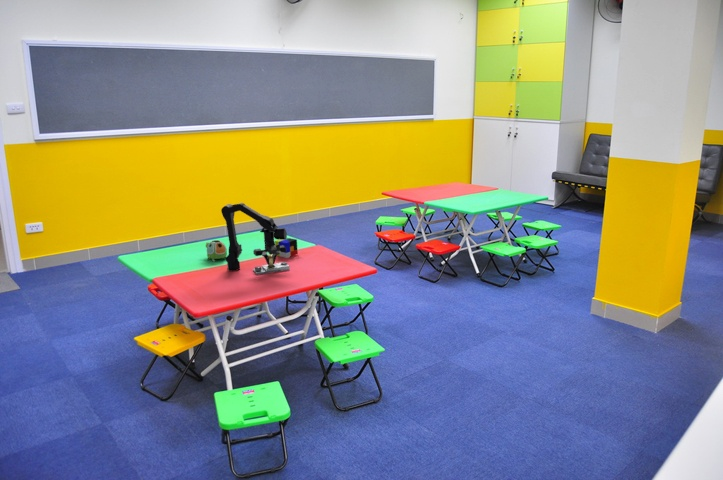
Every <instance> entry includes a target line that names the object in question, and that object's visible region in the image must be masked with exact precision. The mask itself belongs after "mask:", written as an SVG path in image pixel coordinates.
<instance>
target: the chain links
mask: <svg viewBox="0 0 723 480" xmlns="http://www.w3.org/2000/svg"><path fill="white" fill-rule="evenodd" d="M252 271H253V272H254V274H255V275H257V276H259V275H265V274H271V273H276V272H277V273H278V272H283V271H290V265H289V264H288V262H286V261H284V262H283V261H282V262H277V263H274V267H271V268H269V266H268V264H262V265H261V266H255V267H254V268H253V269H252Z"/></svg>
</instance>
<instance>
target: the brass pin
mask: <svg viewBox="0 0 723 480" xmlns="http://www.w3.org/2000/svg"><path fill="white" fill-rule="evenodd" d="M267 255H268V261H269V265H268V264H267V265H268V266H269V268H271V267H274V264H275V263H274V264H273V254H272V255H270V254H267Z"/></svg>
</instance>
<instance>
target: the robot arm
mask: <svg viewBox="0 0 723 480" xmlns="http://www.w3.org/2000/svg"><path fill="white" fill-rule="evenodd" d="M220 210H221V211H220V212H221V214H222V218H223V219H224V221H225V224H226V231H227V237H228V242H229V245H228V254H227V256H226V258H224V260H225V262H226V263H227V264H226V265H227V268H226V269H227V271H228V272H233V271H239V270H241V265H240V260H239V259H238V258H239V257H240V256H241V255H242V251H243V247H242V243H241V244H239V242H238V239H237V231H236V227H235V220H234V219H235V213H236V212H241V213H243V214H245V215H247V216H248V217H250V218H252V219H253V220H255V221H256V222H257V223H258V225H260V226H261V227H262V228H261V230H260V231H259V232H260V233H263V242H264V249H261V248H255V249H253V251H252V252H253V255H254V256H255V257H260V256H262V257H263V258H264V259H265V262H266V265H269V261H268V255H273V264H275V262H276V259H277V257H278V256H277V255H278V254H280V253H279V251H281V252H286V247H284V246H283V245H282V246H280V245H275V241H276V240H279V239H281V240H286V238H288V233H287V230H286V228H285V227H281V228H279V227H278V225H277V224H276V223H275V222H274V221H275V220H274V219H273V218H272V217H269V216H267V215H264V214H261V213H259V212H258V211H256V210H254V209H253V208H251V207H249V206H248V205H246V204H245V203H243V202H240V203H235V204H231V203H230V204H229V203H228V204H226V205H224V206H223V207H222V208H221V209H220Z"/></svg>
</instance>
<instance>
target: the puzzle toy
mask: <svg viewBox="0 0 723 480" xmlns="http://www.w3.org/2000/svg"><path fill="white" fill-rule="evenodd" d="M274 241H275V245H280V246H282V245H283V246H284V247H286V252H281V251H279V253H280V254H278V255H277V257H281V258H285V259H287V258H290V256H291V257H293V255H294V256H297V255H298V239H295V238H291V237H287V238H286V240H281V239H275V240H274ZM296 254H297V255H296Z"/></svg>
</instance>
